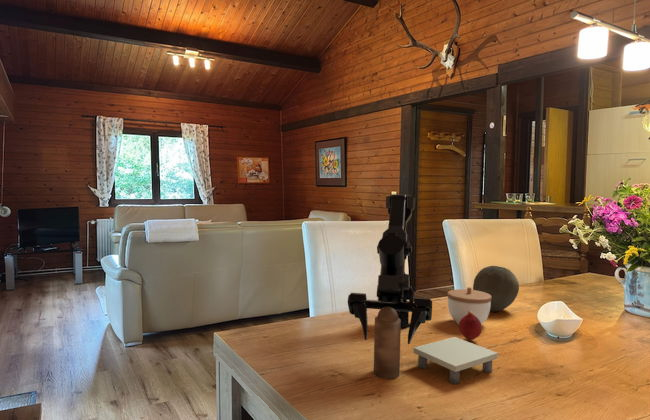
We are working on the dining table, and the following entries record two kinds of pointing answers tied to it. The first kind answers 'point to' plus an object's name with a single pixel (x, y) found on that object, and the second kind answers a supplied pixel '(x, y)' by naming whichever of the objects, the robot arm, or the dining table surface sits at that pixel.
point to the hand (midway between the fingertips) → (386, 341)
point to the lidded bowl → (468, 304)
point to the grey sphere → (497, 286)
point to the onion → (470, 326)
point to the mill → (387, 344)
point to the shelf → (455, 356)
